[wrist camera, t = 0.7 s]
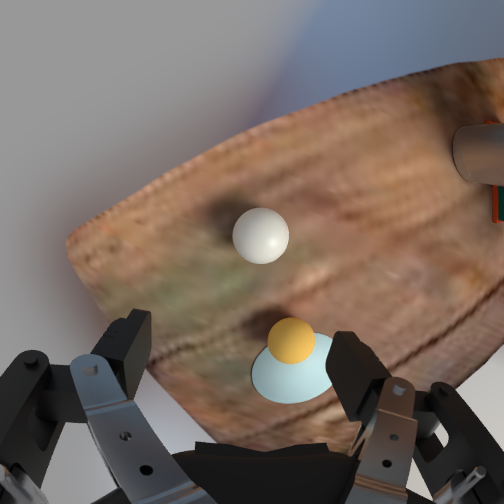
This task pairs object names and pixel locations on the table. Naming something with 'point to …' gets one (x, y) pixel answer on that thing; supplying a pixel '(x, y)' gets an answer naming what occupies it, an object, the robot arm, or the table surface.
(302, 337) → the object ball
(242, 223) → the cue ball
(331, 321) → the table surface
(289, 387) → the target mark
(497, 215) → the power tool
